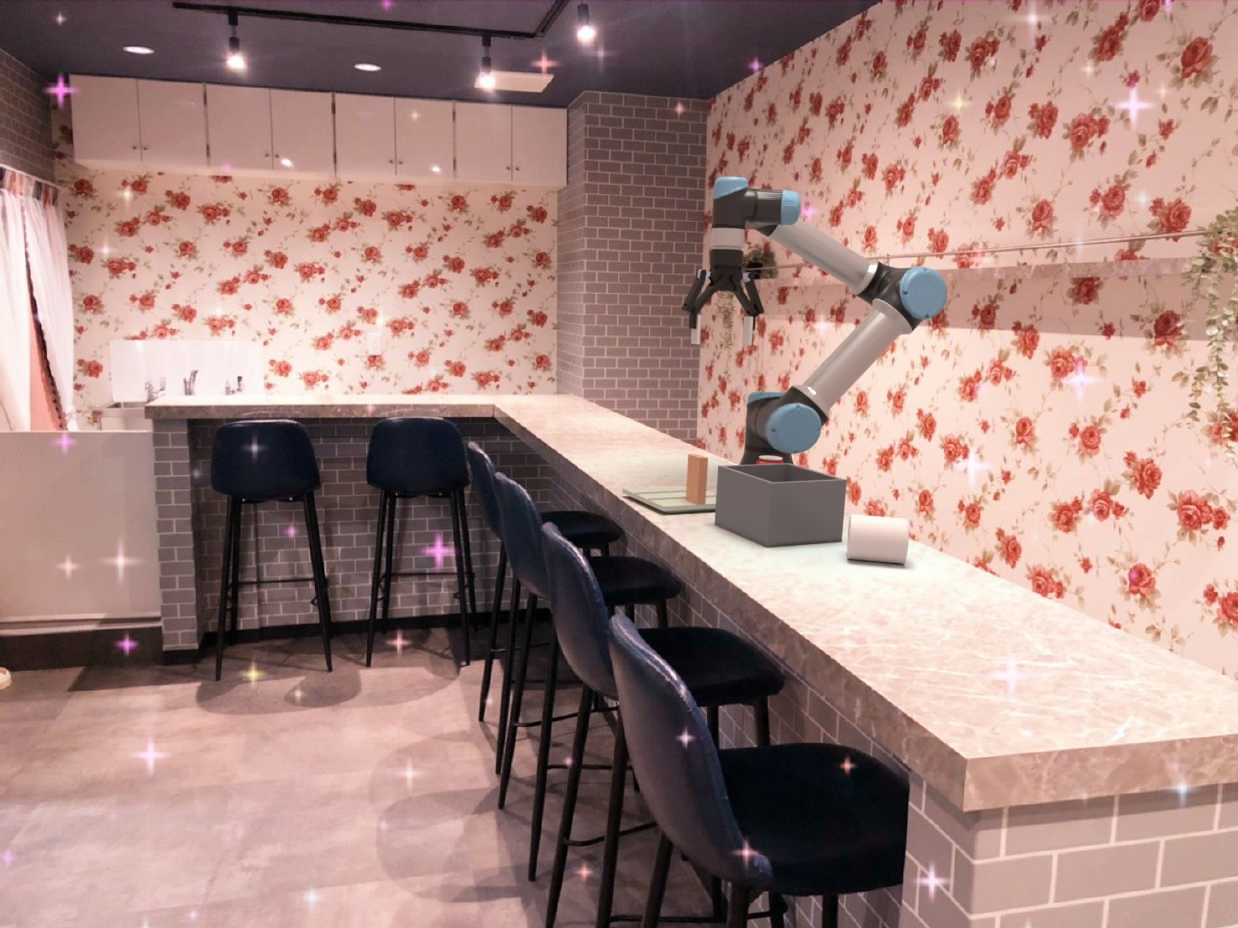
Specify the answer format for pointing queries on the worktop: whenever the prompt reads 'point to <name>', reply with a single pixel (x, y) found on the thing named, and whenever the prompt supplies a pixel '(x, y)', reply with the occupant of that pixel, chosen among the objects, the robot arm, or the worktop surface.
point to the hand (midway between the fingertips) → (721, 344)
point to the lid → (680, 491)
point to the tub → (780, 504)
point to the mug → (878, 539)
